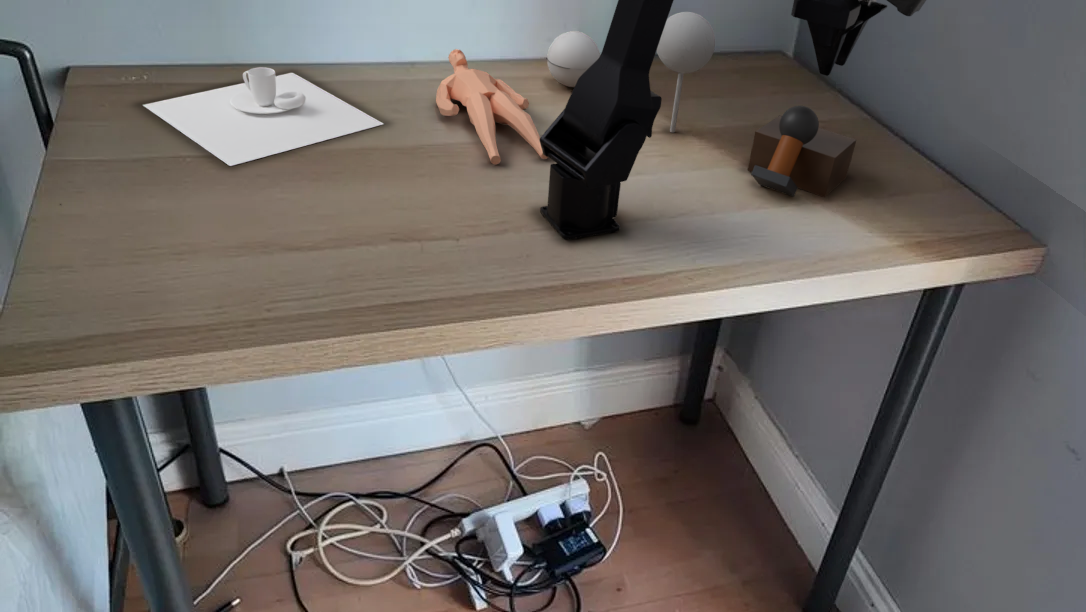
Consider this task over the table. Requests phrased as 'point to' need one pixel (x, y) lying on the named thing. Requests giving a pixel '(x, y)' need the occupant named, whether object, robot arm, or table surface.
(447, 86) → the male figurine
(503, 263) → the table surface
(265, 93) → the teacup and saucer
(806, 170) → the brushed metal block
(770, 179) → the ball-topped stamp
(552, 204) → the robot arm
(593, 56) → the white oval body
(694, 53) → the lollipop
